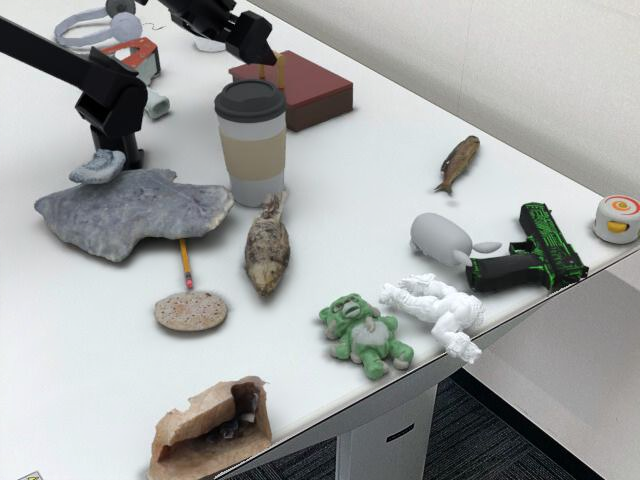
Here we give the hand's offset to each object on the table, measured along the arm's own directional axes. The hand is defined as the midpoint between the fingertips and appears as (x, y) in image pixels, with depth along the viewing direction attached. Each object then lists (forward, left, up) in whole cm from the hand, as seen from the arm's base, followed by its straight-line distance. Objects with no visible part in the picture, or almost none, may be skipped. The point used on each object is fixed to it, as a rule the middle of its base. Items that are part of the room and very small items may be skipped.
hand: (256, 53), depth 113 cm
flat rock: (-33, +6, -7) cm, 34 cm away
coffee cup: (-23, +2, -10) cm, 25 cm away
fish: (-22, -29, -8) cm, 37 cm away
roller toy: (-42, -44, -8) cm, 61 cm away
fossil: (-28, +19, -2) cm, 34 cm away
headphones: (+35, +26, -10) cm, 45 cm away
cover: (+3, -5, -6) cm, 8 cm away
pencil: (-34, +12, -10) cm, 37 cm away
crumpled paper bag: (-69, +9, -11) cm, 70 cm away
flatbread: (-48, +11, -10) cm, 50 cm away
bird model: (-38, +3, -4) cm, 38 cm away
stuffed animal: (-55, -7, -10) cm, 56 cm away
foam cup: (+29, +7, -10) cm, 31 cm away
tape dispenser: (+11, +21, -10) cm, 26 cm away
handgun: (-43, -21, -8) cm, 48 cm away
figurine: (-50, -10, -8) cm, 52 cm away
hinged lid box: (+3, -5, -10) cm, 11 cm away
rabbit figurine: (-37, -17, -7) cm, 41 cm away
